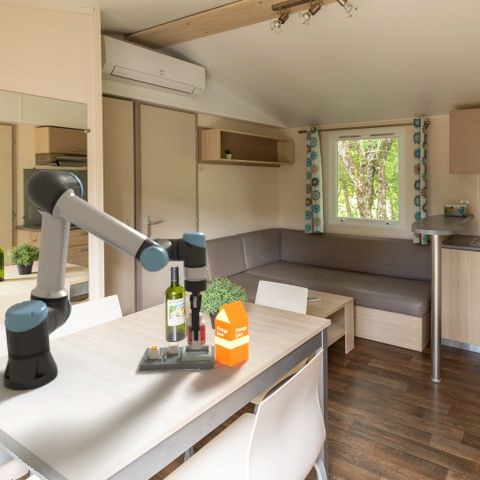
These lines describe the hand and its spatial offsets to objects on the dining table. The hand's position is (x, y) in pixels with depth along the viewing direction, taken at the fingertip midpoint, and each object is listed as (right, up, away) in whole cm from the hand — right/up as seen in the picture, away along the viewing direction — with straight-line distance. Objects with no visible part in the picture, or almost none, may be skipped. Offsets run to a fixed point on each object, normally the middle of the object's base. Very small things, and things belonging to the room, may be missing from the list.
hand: (196, 344), depth 144 cm
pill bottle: (0, 0, 0) cm, 0 cm away
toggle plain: (-8, -3, +2) cm, 9 cm away
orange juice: (+12, -6, +1) cm, 13 cm away
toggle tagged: (-14, -4, -2) cm, 15 cm away
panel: (-6, -6, 0) cm, 8 cm away
